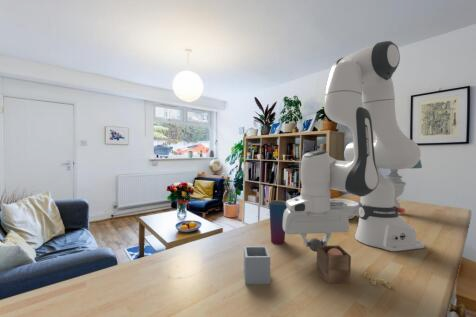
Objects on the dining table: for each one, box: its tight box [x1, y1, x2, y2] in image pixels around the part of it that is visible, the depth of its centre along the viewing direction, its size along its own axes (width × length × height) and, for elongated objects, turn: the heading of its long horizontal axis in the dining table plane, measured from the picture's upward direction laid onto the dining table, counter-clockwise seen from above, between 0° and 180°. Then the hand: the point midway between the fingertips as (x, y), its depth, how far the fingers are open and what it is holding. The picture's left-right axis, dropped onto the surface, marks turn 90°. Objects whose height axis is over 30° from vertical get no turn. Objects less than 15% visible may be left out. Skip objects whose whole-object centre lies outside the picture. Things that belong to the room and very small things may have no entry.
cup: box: [268, 199, 287, 245], centre depth 85 cm, size 7×7×15 cm
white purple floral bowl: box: [330, 198, 359, 220], centre depth 117 cm, size 15×15×8 cm
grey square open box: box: [243, 245, 271, 285], centre depth 60 cm, size 6×6×7 cm
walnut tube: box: [316, 245, 352, 284], centre depth 61 cm, size 6×6×7 cm
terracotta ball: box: [327, 248, 343, 255], centre depth 60 cm, size 4×4×4 cm
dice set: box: [363, 272, 393, 289], centre depth 59 cm, size 5×5×2 cm
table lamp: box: [385, 159, 423, 216], centre depth 125 cm, size 24×24×40 cm
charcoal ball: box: [309, 237, 322, 253], centre depth 71 cm, size 4×4×4 cm
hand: (315, 245), depth 71 cm, fingers closed on charcoal ball, 4 cm apart
